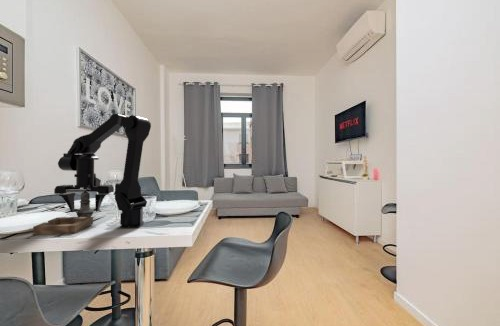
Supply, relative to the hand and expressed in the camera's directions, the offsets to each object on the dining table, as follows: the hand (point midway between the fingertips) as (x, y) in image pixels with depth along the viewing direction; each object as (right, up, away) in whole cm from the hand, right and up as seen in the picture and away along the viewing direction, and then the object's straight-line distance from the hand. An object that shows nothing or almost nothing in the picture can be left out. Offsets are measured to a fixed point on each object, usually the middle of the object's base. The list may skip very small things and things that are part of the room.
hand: (85, 211), depth 95 cm
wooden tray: (+1, -4, -11) cm, 12 cm away
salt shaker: (0, -4, 0) cm, 4 cm away
